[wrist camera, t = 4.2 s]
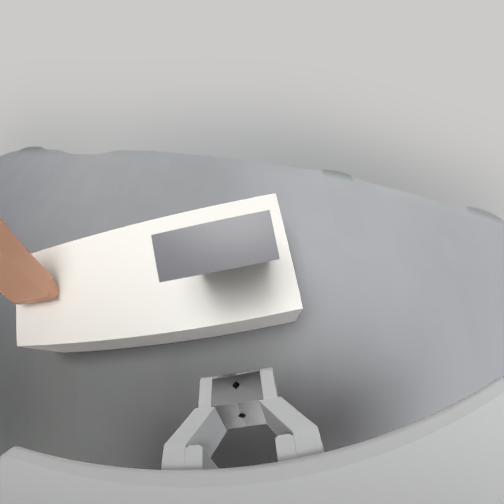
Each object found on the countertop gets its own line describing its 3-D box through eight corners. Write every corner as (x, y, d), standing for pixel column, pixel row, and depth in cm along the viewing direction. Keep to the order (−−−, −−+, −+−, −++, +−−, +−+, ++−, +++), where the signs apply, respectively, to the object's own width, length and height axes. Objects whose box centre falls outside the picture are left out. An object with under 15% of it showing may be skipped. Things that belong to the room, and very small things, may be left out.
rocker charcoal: (270, 260, 21) (279, 259, 12) (201, 274, 21) (159, 282, 12) (264, 232, 21) (269, 209, 12) (195, 246, 21) (151, 235, 12)
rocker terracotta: (56, 304, 20) (-15, 233, 13) (21, 309, 20) (-45, 248, 13) (60, 284, 22) (-4, 212, 14) (25, 291, 22) (-35, 229, 15)
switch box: (295, 321, 27) (303, 308, 20) (65, 352, 27) (17, 346, 20) (275, 232, 30) (274, 191, 23) (62, 277, 31) (19, 255, 23)
